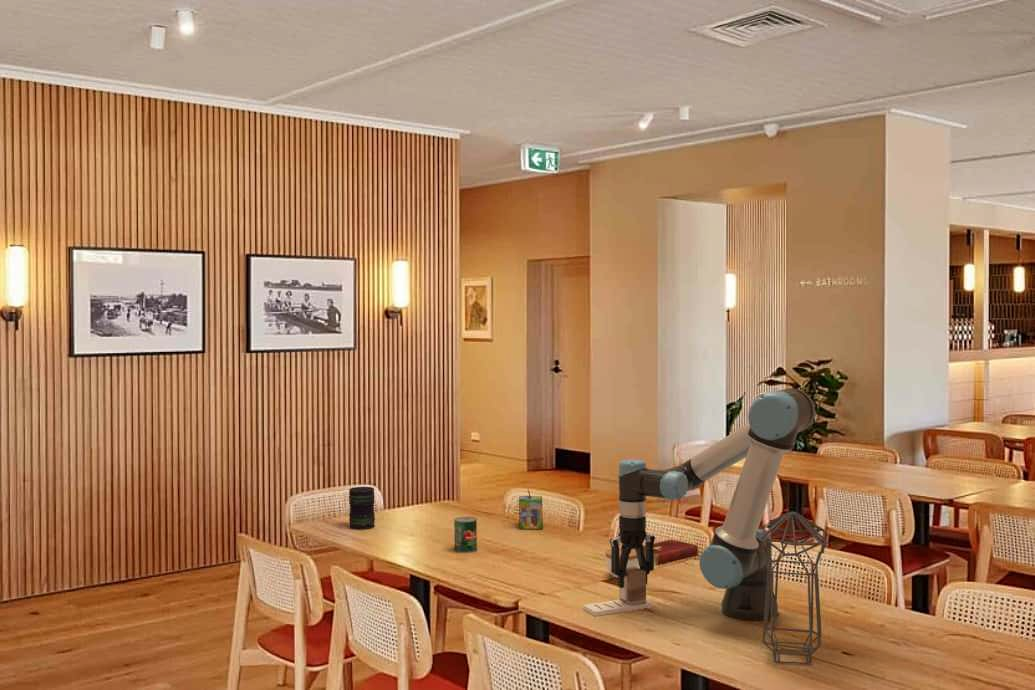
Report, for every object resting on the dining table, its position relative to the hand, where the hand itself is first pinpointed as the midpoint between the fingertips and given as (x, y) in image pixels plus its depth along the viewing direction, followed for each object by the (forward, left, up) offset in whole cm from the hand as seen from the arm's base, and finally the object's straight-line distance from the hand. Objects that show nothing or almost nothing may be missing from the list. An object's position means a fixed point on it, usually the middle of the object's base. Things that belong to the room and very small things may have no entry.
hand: (632, 597), depth 279 cm
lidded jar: (+28, -13, -3) cm, 31 cm away
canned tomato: (+82, +19, -3) cm, 85 cm away
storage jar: (+135, +42, -3) cm, 142 cm away
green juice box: (+106, -17, -3) cm, 108 cm away
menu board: (0, +5, -3) cm, 6 cm away
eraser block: (0, 0, -1) cm, 1 cm away
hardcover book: (+44, -38, -3) cm, 58 cm away
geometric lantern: (-53, -13, -3) cm, 54 cm away
